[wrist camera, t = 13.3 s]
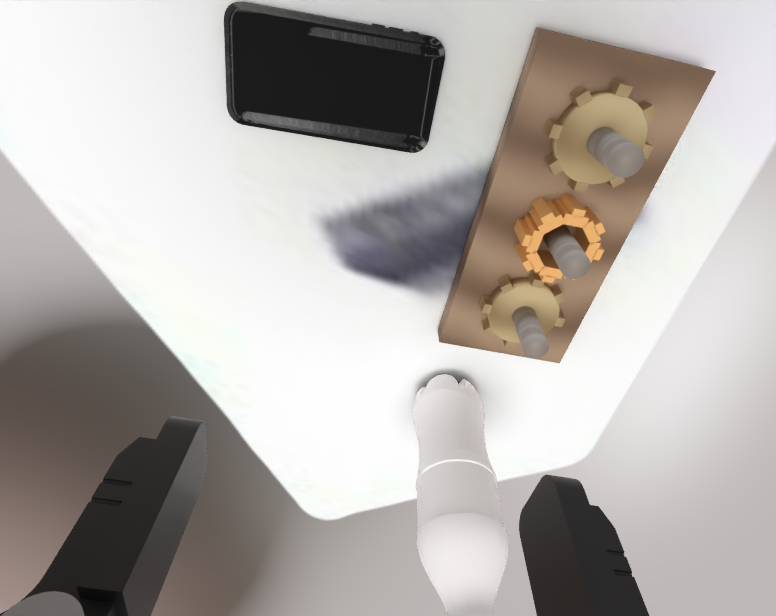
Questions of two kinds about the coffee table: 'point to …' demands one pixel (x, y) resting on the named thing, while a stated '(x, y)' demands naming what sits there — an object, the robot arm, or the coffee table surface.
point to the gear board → (566, 187)
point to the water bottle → (457, 499)
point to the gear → (549, 218)
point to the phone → (331, 77)
